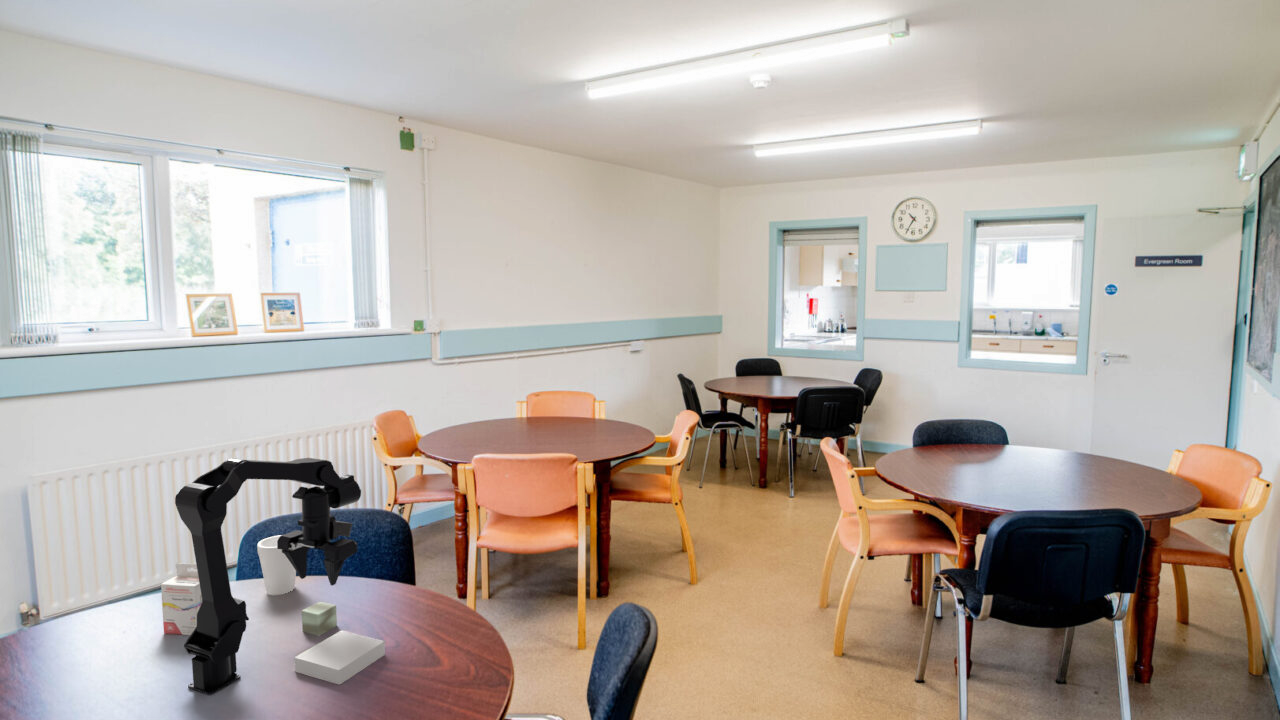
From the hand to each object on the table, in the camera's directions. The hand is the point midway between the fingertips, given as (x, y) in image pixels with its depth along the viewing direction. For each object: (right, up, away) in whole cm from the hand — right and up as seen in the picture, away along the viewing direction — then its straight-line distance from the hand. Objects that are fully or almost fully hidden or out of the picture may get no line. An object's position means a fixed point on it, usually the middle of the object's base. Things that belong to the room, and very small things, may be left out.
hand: (318, 581), depth 152 cm
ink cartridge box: (-29, -11, 0) cm, 31 cm away
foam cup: (-20, -9, +21) cm, 30 cm away
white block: (+11, -12, -14) cm, 22 cm away
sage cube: (0, -11, +1) cm, 11 cm away
